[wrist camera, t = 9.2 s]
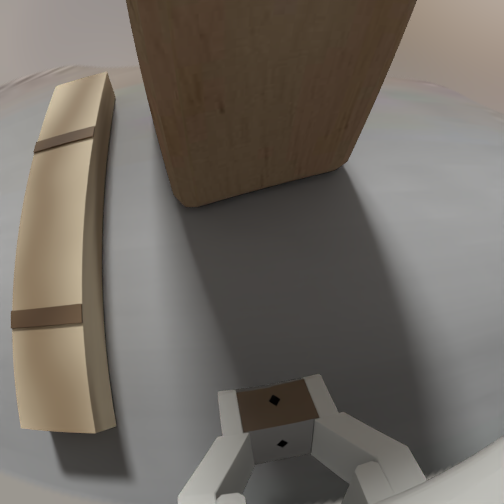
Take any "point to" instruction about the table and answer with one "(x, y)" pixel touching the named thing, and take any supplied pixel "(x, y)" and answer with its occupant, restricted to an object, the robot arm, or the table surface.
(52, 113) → the maple board
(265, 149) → the wooden block
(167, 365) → the table surface
